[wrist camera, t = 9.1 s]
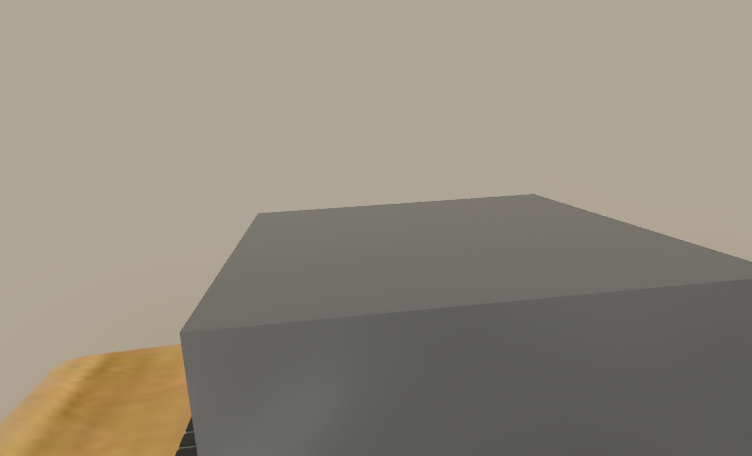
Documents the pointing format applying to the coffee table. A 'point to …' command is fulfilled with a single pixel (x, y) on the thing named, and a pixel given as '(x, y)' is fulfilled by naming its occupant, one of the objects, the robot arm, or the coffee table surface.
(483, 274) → the block
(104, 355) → the coffee table surface
